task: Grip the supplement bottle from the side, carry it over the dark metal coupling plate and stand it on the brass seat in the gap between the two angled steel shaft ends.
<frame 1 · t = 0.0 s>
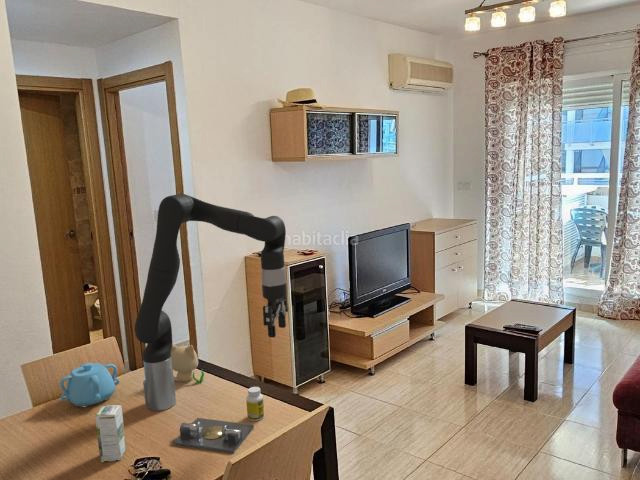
hand: (277, 332, 159), 29 cm above the table, tool pointing down, fingers open, 8 cm apart
kitten: (187, 380, 196), on the table
syrup box: (114, 456, 149), on the table
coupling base: (214, 436, 156), on the table
decorative pot: (92, 399, 185), on the table
supplement bottle: (256, 418, 166), on the table
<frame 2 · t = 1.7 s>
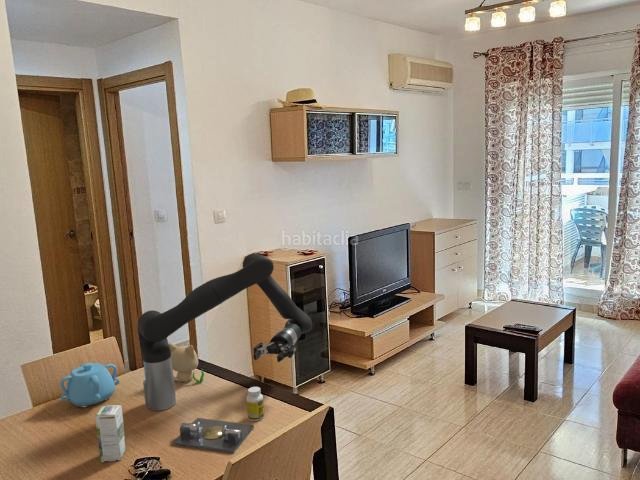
hand: (266, 358, 174), 16 cm above the table, tool horizontal, fingers open, 8 cm apart
nothing on the table moved.
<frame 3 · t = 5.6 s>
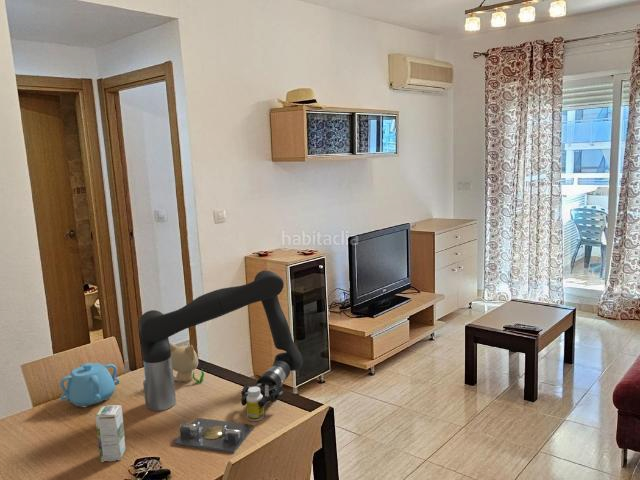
hand: (251, 403, 163), 6 cm above the table, tool horizontal, fingers closed on supplement bottle, 5 cm apart
supplement bottle: (256, 417, 166), on the table, touching gripper
everything else where it was.
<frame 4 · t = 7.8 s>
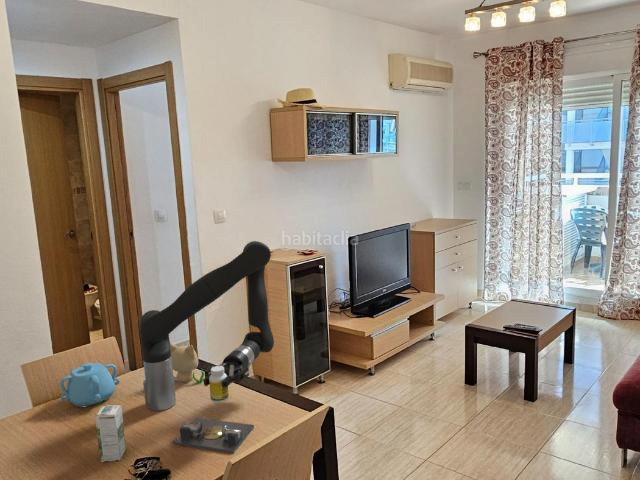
hand: (214, 384, 152), 18 cm above the table, tool horizontal, fingers closed on supplement bottle, 5 cm apart
supplement bottle: (220, 399, 155), point 12 cm above the table, touching gripper
everything else where it was.
when the fingers open (8 cm above the table, at t = 10.3 s): supplement bottle stays where it is, resting on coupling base.
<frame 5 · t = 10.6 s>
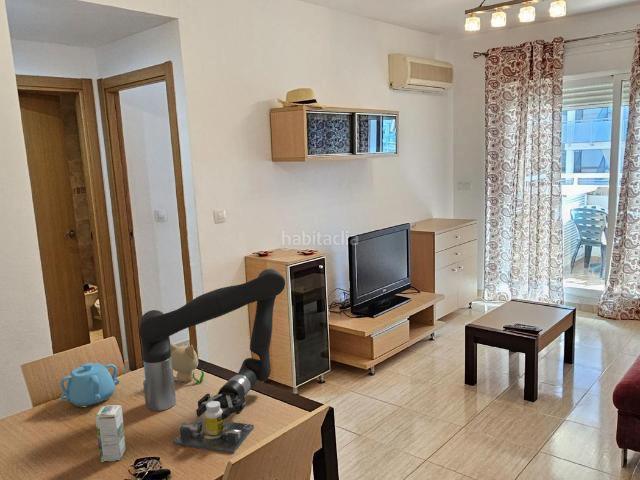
hand: (210, 415, 152), 8 cm above the table, tool horizontal, fingers open, 8 cm apart
supplement bottle: (215, 434, 155), point 1 cm above the table, touching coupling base
everything else where it was.
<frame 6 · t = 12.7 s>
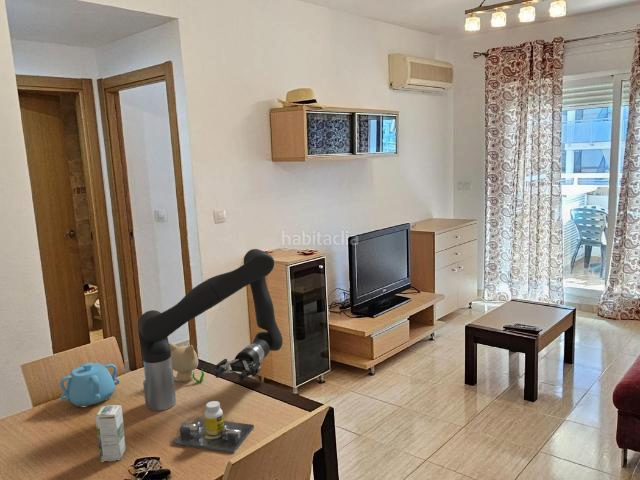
hand: (228, 376, 165), 14 cm above the table, tool horizontal, fingers open, 8 cm apart
nothing on the table moved.
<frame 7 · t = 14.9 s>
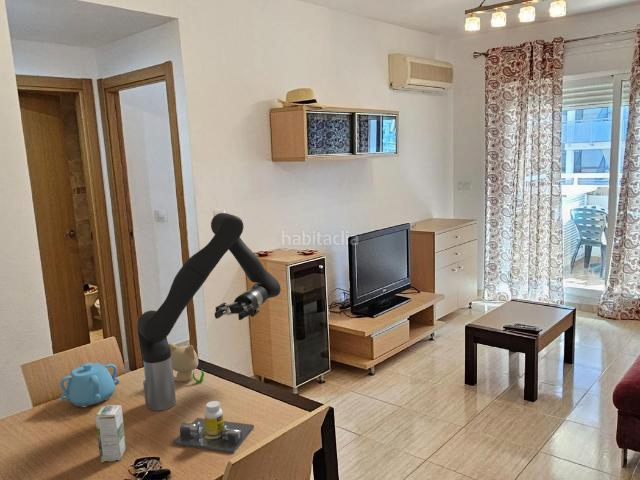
hand: (227, 316, 168), 32 cm above the table, tool horizontal, fingers open, 8 cm apart
nothing on the table moved.
at the end: supplement bottle 1.3 cm from the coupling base (horizontally); supplement bottle tilted 0°; the gripper is holding nothing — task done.
